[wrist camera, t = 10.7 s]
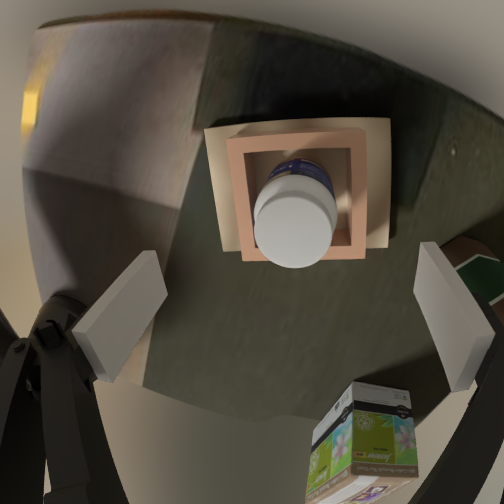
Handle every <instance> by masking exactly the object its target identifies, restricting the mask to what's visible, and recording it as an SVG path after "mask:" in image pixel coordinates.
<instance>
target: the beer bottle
mask: <svg viewBox="0 0 504 504" xmlns="http://www.w3.org/2000/svg"><path fill="white" fill-rule="evenodd" d="M440 250H441V251H442V252H443V254H444V255H445V256H446V258H447V259H448V261H449V262H450V263H451V265H452V266H453V268H454V269H455V271H456V272H457V273H458V275H459V276H460V278H461V279H462V281H463V282H464V284H465V285H466V287H467V288H468V290H469V291H470V293H477V292H478V293H479V294H480V295H482V296H483V297H484V298H485V299H487V301H488V302H489V304H490V305H491V307H492V309H493V310H494V312H495V313H496V315H497V316H498V318H499V319H500V321H501V323H502V324H503V326H504V265H503V264H502V263H501V262H500V260H499V259H498V258H497V257H496V256H495V255H494V254H493V253H492V252H491V250H490V249H489V248H488V247H487V246H485V245H484V244H483V243H482V242H481V241H477V240H474V239H470V238H467V237H463V236H459V237H457V238H456V239H454V240H452V241H451V242H449V243H448V244H446V245H444V246H443V247H441V248H440Z"/></svg>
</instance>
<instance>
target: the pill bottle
mask: <svg viewBox="0 0 504 504" xmlns="http://www.w3.org/2000/svg"><path fill="white" fill-rule="evenodd" d="M337 215H338V214H337V205H336V199H335V195H334V189H333V184H332V181H331V178H330V176H329V174H328V172H327V171H326V170H325V168H324V167H323V166H321V165H320V164H319V163H317V162H316V161H314V160H312V159H309V158H304V157H294V158H289V159H286V160H284V161H282V162H281V163H279V164H278V165H277V166H276V167H275V168H274V169H273V170H272V172H271V173H270V175H269V177H268V179H267V181H266V183H265V184H264V186H263V188H262V190H261V192H260V193H259V196H258V198H257V201H256V204H255V208H254V220H255V225H254V235H255V240H256V243H257V245H258V247H259V249H260V251H261V252H262V253H263V254H264V255H265V256H266V257H267V258H268V259H269V260H270V261H272V262H274V263H276V264H278V265H280V266H283V267H289V268H302V267H306V266H309V265H312V264H314V263H316V262H317V261H319V260H320V259H321V258H322V257H323V256H324V255H325V254H326V252H327V251H328V249H329V247H330V245H331V241H332V234H333V233H334V230H335V227H336V224H337Z"/></svg>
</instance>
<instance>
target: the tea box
mask: <svg viewBox="0 0 504 504" xmlns="http://www.w3.org/2000/svg"><path fill="white" fill-rule="evenodd" d="M418 477H419V475H418V459H417V448H416V439H415V430H414V422H413V416H412V408H411V401H410V395H409V391H405V390H400V389H395V388H389V387H383V386H377V385H372V384H366V383H360V382H355V381H353V382H352V383H351V385H350V386H349V387H348V388H347V389H346V391H345V392H344V393H343V395H342V396H341V397H340V399H339V400H338V401H337V402H336V403H335V405H334V406H333V408H332V409H331V410H330V411H329V412H328V413H327V415H326V416H325V417H324V419H323V420H322V421H321V422H320V423H319V424H318V426H317V427H316V428H315V429H314V431H313V439H312V450H311V458H310V468H309V474H308V484H307V490H306V500H305V504H372V503H374V502H376V501H378V500H380V499H382V498H384V497H386V496H387V495H390V494H391V493H393V492H395V491H397V490H399V489H400V488H402V487H404V486H406V485H407V484H409V483H410V482H412V481H414V480H416V479H417V478H418Z"/></svg>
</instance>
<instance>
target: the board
mask: <svg viewBox="0 0 504 504" xmlns="http://www.w3.org/2000/svg"><path fill="white" fill-rule="evenodd" d="M344 127H359V128H361V129H362V130H364V131H366V148H367V225H366V248H388V237H389V221H390V200H391V127H390V119H389V118H374V117H338V118H308V119H290V120H276V121H264V122H253V123H243V124H235V125H226V126H218V127H211V128H206V129H204V132H205V139H206V146H207V152H208V159H209V166H210V172H211V178H212V185H213V191H214V197H215V204H216V210H217V216H218V222H219V228H220V234H221V240H222V246H223V251H241V244H240V237H239V230H238V223H237V216H236V209H235V202H234V195H233V188H232V181H231V174H230V166H229V159H228V152H227V144H226V139H227V138H229V137H231V136H233V135H235V134H242V133H252V132H263V131H276V130H291V129H309V128H344ZM252 155H253V163H254V172H255V180H256V189H257V198H258V196H259V193H260V192H261V190H262V188H263V186H264V184H265V183H266V181H267V179H268V177H269V175H270V173H271V172H272V170H273V169H274V168H275V167H276V166H277V165H278V164H279V163H281V162H282V161H284V160H286V159H289V158H294V157H304V158H309V159H312V160H314V161H316V162H317V163H319V164H320V165H321V166H323V167H324V168H325V170H326V171H327V172H328V174H329V176H330V178H331V181H332V184H333V189H334V195H335V199H336V205H337V214H338V215H337V224H336V227H335V229H347V164H346V148H311V149H291V150H275V151H261V152H252Z"/></svg>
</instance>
